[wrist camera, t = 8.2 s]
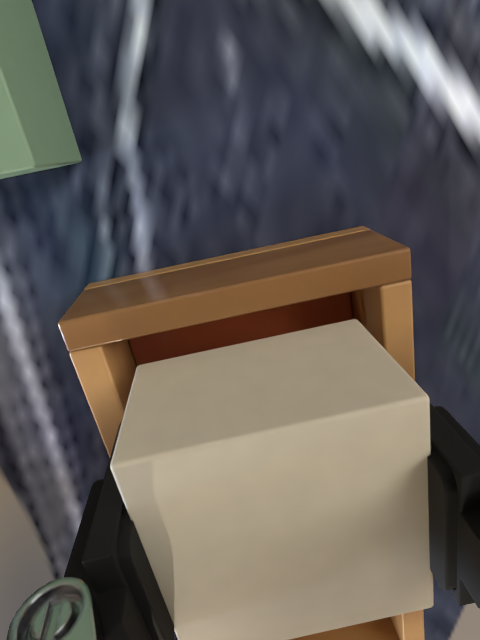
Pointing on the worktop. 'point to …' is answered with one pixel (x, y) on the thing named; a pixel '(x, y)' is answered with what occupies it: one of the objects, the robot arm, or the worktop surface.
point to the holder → (244, 327)
